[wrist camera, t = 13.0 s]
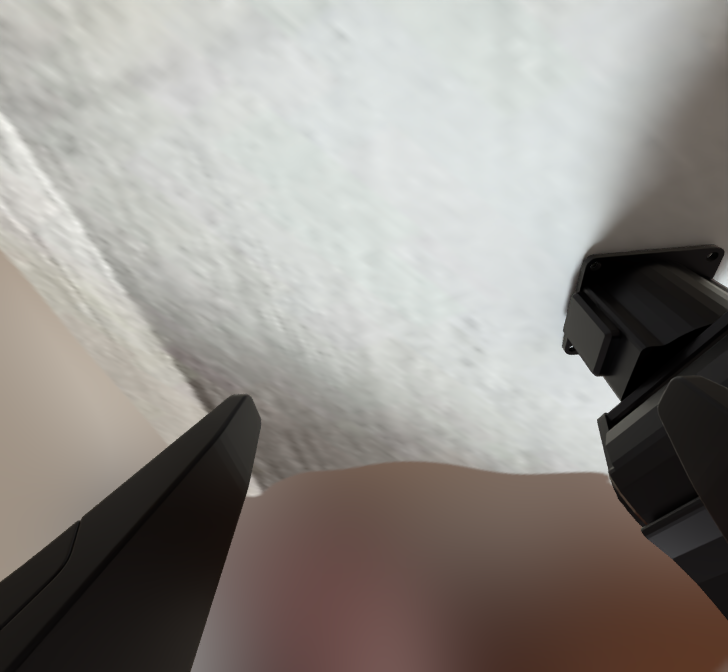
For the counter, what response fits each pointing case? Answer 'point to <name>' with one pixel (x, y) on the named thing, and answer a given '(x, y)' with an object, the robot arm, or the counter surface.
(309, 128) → the counter surface
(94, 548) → the robot arm
